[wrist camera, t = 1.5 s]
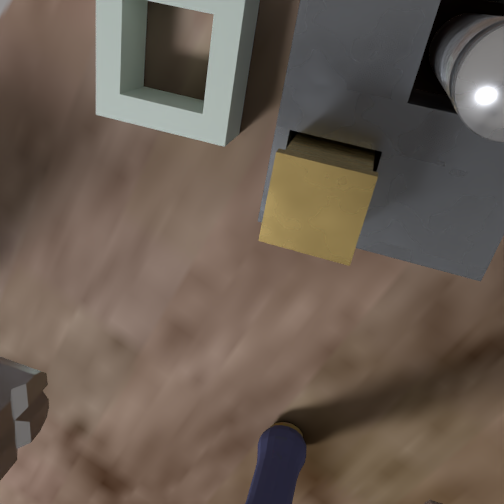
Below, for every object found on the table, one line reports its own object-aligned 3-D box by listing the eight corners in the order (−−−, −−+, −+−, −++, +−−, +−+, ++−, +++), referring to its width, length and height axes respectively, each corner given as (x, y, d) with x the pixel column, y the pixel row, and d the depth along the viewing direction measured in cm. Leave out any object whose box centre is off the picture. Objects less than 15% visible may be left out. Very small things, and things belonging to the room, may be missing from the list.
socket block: (586, -25, 22) (635, -32, 17) (467, 239, 29) (480, 281, 24) (330, -70, 23) (317, -86, 19) (276, 190, 30) (257, 221, 26)
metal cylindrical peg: (514, 19, 23) (613, 31, 13) (485, 92, 25) (551, 155, 15) (441, 5, 24) (481, 7, 13) (418, 78, 25) (436, 129, 15)
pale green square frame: (261, -13, 25) (247, -15, 23) (239, 134, 29) (224, 146, 27) (124, -40, 26) (96, -44, 24) (120, 105, 30) (95, 114, 28)
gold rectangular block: (380, 140, 25) (377, 176, 20) (357, 215, 27) (349, 265, 22) (299, 121, 25) (276, 151, 20) (283, 196, 28) (258, 240, 22)
